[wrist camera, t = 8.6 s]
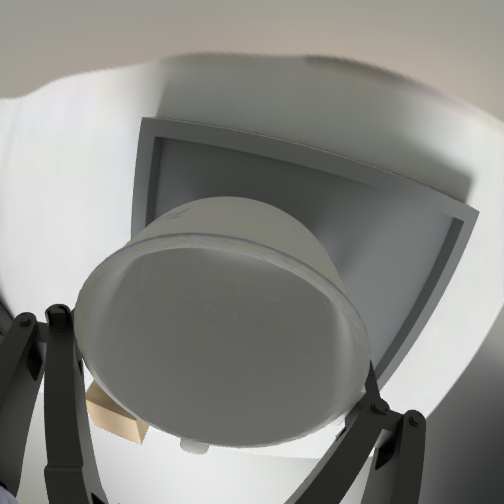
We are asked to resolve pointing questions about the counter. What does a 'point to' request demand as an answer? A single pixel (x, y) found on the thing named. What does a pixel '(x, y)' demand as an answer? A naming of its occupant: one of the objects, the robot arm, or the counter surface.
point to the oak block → (113, 415)
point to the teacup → (224, 327)
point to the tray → (320, 217)
